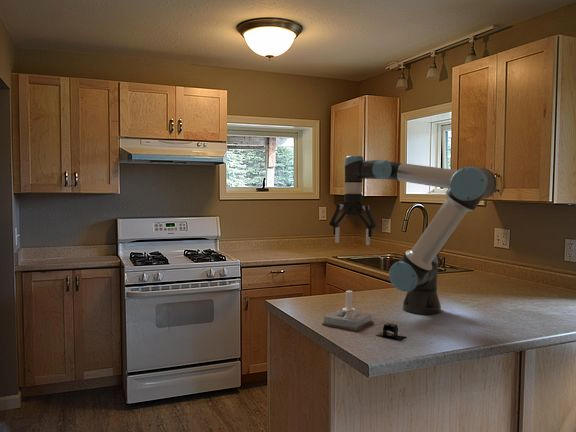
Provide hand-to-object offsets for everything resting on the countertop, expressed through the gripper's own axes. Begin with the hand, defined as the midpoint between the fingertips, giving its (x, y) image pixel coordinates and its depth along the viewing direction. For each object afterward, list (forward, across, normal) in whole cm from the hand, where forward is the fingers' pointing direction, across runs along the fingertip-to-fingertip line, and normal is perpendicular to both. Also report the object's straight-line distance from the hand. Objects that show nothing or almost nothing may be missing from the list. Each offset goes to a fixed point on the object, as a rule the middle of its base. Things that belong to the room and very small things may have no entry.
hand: (352, 243), depth 208 cm
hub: (+26, -9, +26) cm, 38 cm away
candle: (+26, -9, +26) cm, 38 cm away
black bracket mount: (+27, -27, +33) cm, 51 cm away
